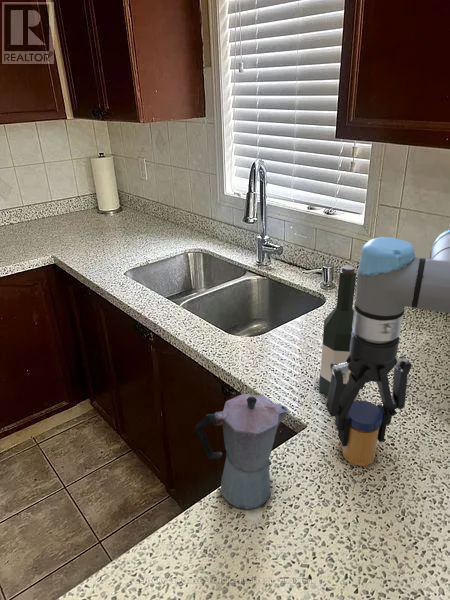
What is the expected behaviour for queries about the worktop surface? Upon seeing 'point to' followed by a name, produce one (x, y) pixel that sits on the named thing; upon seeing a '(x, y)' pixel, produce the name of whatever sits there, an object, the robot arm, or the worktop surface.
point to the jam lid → (365, 416)
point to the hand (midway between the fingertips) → (360, 438)
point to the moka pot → (245, 447)
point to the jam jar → (360, 446)
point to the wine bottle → (338, 329)
